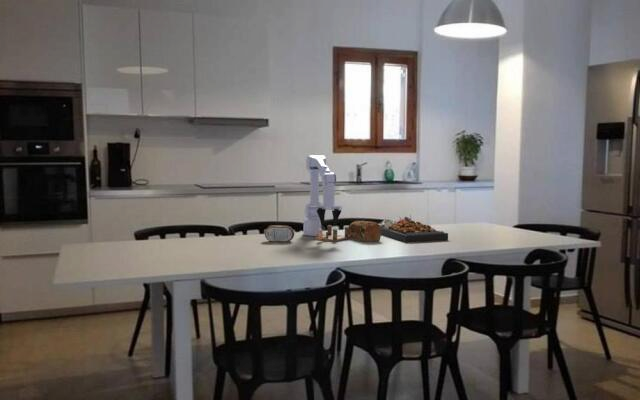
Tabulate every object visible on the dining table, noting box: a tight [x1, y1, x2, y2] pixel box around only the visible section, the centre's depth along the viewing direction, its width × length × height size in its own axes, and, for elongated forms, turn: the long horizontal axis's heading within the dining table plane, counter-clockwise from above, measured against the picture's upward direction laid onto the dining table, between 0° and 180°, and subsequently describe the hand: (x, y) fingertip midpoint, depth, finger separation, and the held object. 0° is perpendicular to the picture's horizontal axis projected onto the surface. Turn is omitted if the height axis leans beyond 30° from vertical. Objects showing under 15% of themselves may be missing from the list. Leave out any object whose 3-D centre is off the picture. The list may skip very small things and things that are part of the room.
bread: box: [348, 220, 382, 243], centre depth 290 cm, size 19×11×10 cm, turn 22°
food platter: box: [376, 214, 449, 244], centre depth 304 cm, size 45×25×10 cm, turn 19°
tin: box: [264, 224, 295, 243], centre depth 281 cm, size 15×3×8 cm, turn 84°
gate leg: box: [317, 228, 327, 239], centre depth 282 cm, size 6×2×5 cm, turn 144°
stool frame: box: [313, 224, 352, 243], centre depth 290 cm, size 14×14×6 cm
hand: (328, 223), depth 277 cm, fingers open, 7 cm apart
